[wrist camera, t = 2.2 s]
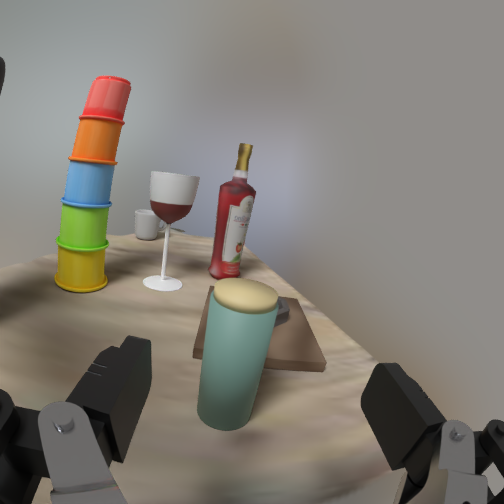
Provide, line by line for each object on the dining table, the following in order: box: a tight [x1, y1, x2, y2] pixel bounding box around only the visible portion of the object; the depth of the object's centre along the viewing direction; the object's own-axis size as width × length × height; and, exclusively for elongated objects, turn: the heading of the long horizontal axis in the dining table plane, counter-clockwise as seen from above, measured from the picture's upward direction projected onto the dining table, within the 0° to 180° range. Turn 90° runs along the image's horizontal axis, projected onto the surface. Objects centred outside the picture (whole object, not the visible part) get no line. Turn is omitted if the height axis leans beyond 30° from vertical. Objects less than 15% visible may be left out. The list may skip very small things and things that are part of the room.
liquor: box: [208, 143, 256, 280], centre depth 56 cm, size 7×7×28 cm
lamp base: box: [193, 286, 327, 372], centre depth 40 cm, size 16×20×4 cm
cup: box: [135, 210, 166, 240], centre depth 79 cm, size 11×8×8 cm
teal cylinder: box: [197, 278, 279, 431], centre depth 21 cm, size 5×5×13 cm
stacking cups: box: [54, 76, 131, 292], centre depth 38 cm, size 10×10×35 cm
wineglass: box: [143, 171, 200, 291], centre depth 48 cm, size 8×9×20 cm
